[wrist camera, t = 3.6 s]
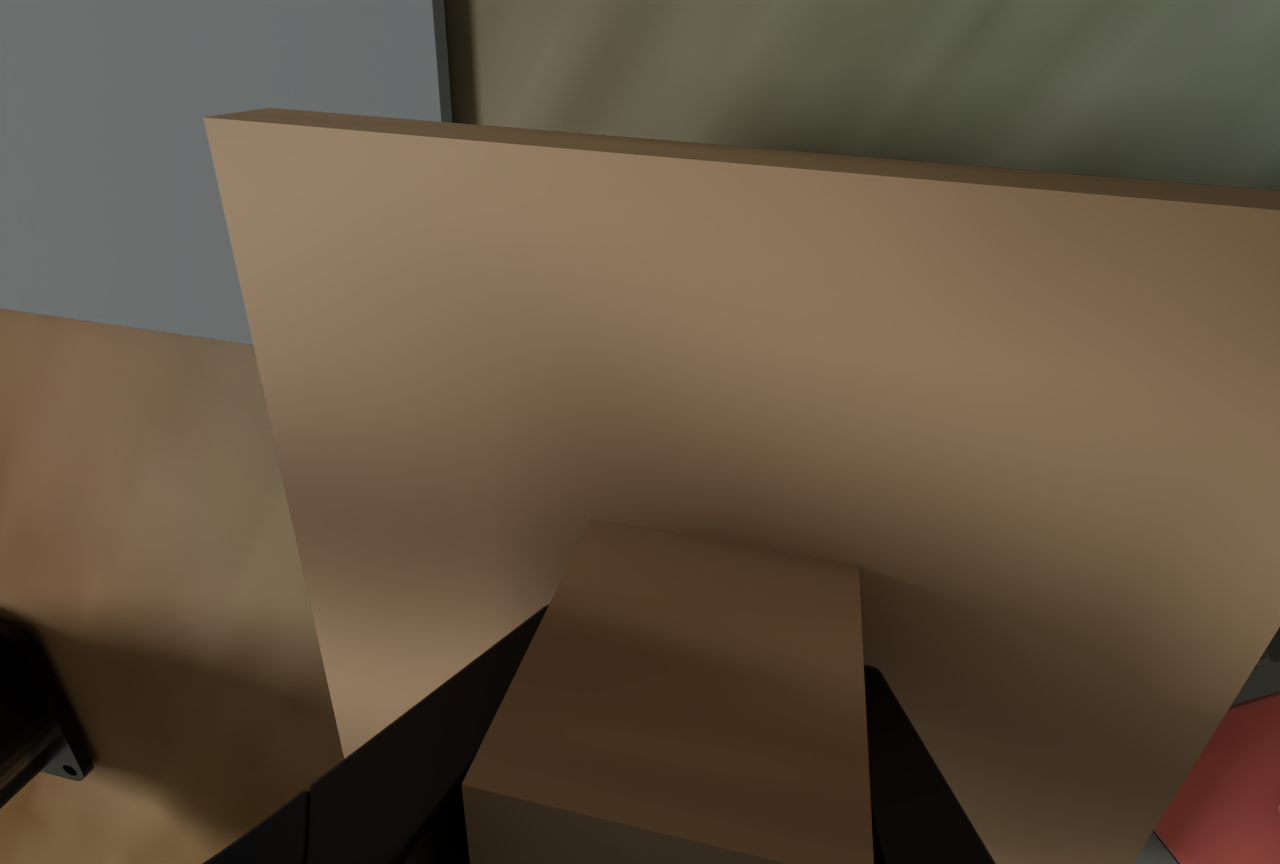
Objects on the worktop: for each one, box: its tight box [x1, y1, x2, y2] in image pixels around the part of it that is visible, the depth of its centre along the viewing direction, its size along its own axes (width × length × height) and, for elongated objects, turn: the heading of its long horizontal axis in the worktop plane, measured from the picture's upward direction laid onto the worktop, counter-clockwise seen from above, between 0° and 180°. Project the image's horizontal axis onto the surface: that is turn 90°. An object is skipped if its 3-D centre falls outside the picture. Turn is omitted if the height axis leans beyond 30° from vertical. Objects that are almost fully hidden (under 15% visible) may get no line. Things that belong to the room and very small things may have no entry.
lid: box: [203, 108, 1280, 864], centre depth 8 cm, size 11×11×4 cm
